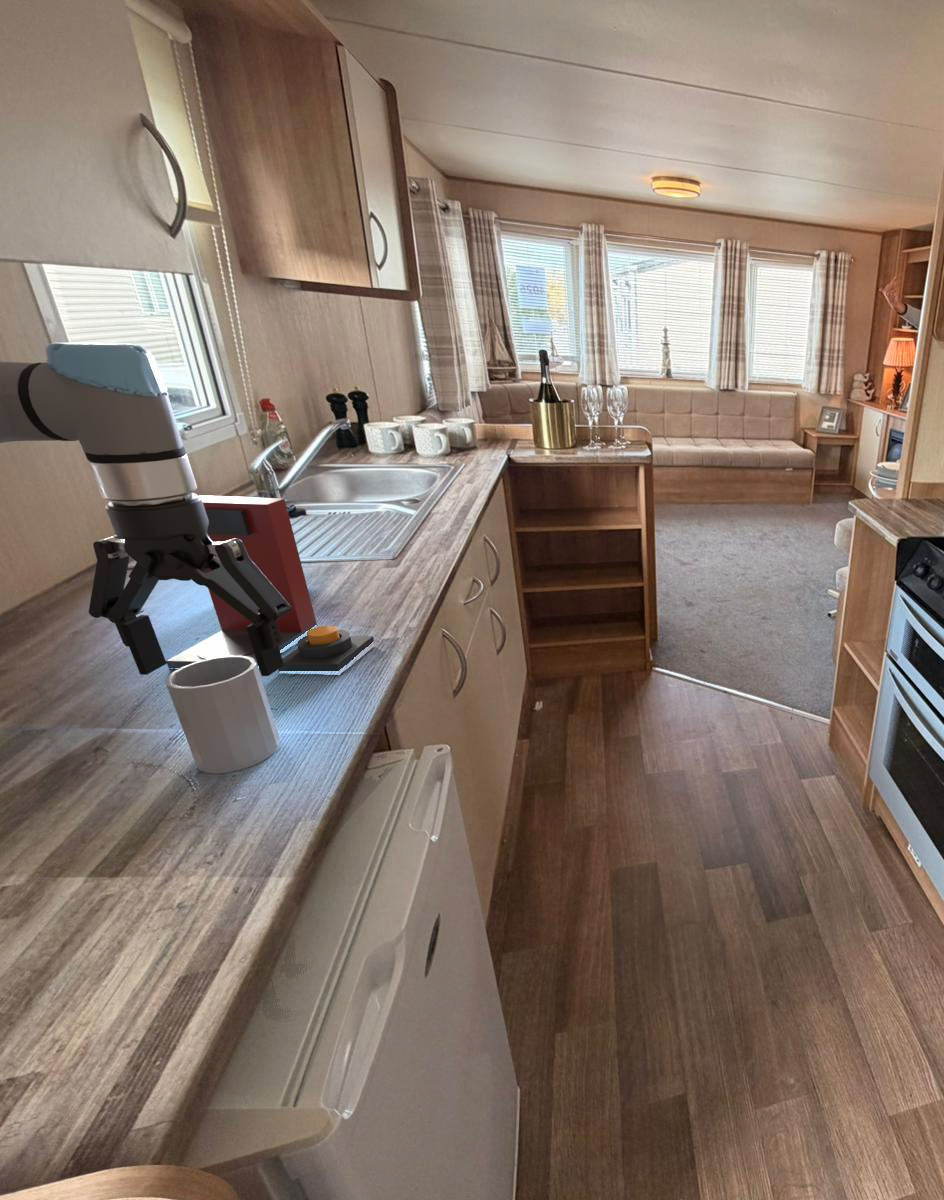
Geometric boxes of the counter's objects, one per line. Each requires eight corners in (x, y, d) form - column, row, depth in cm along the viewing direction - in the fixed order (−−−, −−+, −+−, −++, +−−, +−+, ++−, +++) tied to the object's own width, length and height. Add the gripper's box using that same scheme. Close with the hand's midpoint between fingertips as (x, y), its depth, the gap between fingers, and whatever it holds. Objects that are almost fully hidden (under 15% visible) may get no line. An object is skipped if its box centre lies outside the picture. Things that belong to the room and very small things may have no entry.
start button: (329, 646, 101) (327, 636, 100) (303, 645, 100) (300, 635, 100) (345, 635, 104) (342, 625, 104) (319, 634, 104) (317, 625, 103)
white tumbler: (178, 773, 77) (145, 687, 72) (230, 734, 85) (203, 654, 80) (249, 774, 78) (221, 689, 73) (295, 735, 85) (272, 656, 81)
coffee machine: (257, 671, 100) (211, 523, 90) (168, 669, 99) (113, 519, 89) (318, 630, 113) (284, 498, 104) (241, 628, 112) (200, 495, 103)
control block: (340, 676, 100) (334, 653, 98) (279, 675, 99) (272, 652, 97) (375, 647, 109) (371, 626, 107) (320, 646, 108) (315, 624, 107)
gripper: (298, 492, 73) (340, 656, 81) (63, 485, 71) (131, 653, 79) (249, 509, 66) (301, 687, 74) (-12, 501, 64) (71, 684, 72)
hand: (213, 670), depth 77 cm, fingers open, 13 cm apart
